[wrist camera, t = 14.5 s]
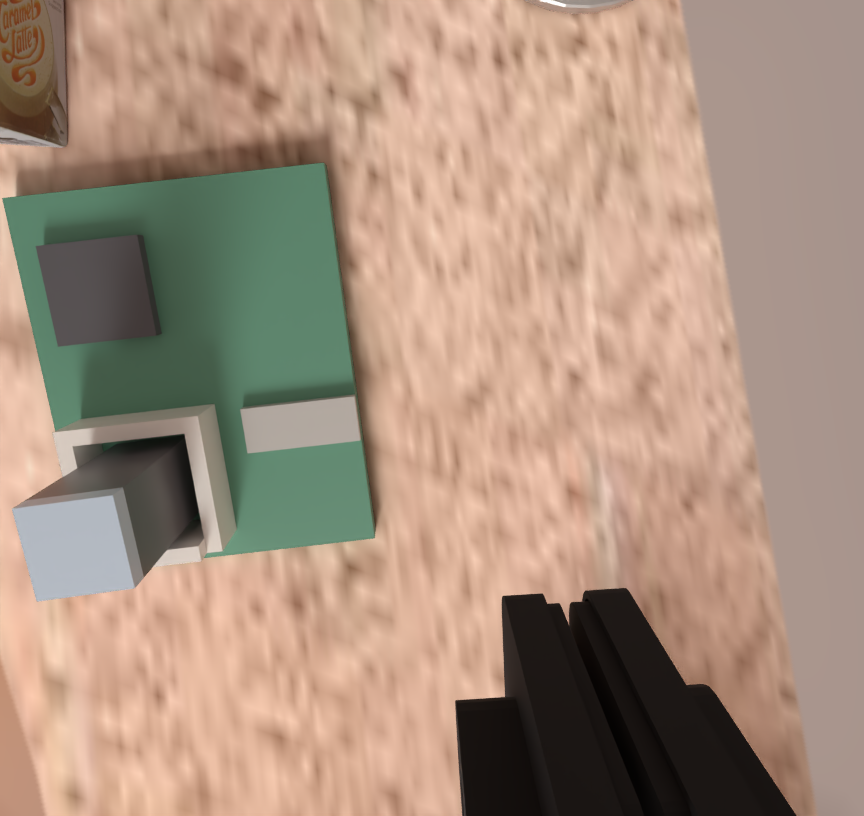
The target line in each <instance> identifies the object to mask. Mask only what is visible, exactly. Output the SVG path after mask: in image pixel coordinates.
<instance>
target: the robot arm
mask: <svg viewBox="0 0 864 816" xmlns="http://www.w3.org/2000/svg"><path fill="white" fill-rule="evenodd" d="M525 1H526V2H528V3H531V4H534V5H536V6H539V7H542V8H544V9H547V10H549V11H556V12H562V13H569V14H585V13H598V12H602V11H606V10H610V9H613V8H617V7H621V6H623V5H625V4H627V3H629V2H631V1H633V0H525ZM502 626H503V652H504V678H505V697H501V698H486V699H470V700H456V701H455V704H456V725H457V742H458V759H459V775H460V789H461V803H462V816H796V814H795V813H794V811H793V810H792V808H791V807H790V805H789V804H788V802H787V801H786V799H785V798H784V796H783V795H782V793H781V792H780V790H779V789H778V787H777V786H776V784H775V783H774V781H773V780H772V778H771V777H770V775H769V774H768V772H767V771H766V769H765V768H764V766H763V765H762V763H761V762H760V760H759V759H758V757H757V756H756V754H755V753H754V751H753V750H752V748H751V747H750V745H749V744H748V742H747V741H746V739H745V737H744V736H743V734H742V733H741V731H740V730H739V728H738V727H737V725H736V724H735V722H734V721H733V719H732V718H731V716H730V715H729V713H728V712H727V710H726V709H725V707H724V706H723V704H722V703H721V701H720V700H719V698H718V697H717V695H716V694H715V693H714V692H713V690H712V689H711V688H710V687H709V686H707V685H704V684H697V685H686V684H685V682H684V681H683V679H682V677H681V676H680V674H679V672H678V671H677V669H676V667H675V666H674V664H673V663H672V661H671V659H670V658H669V656H668V654H667V653H666V651H665V649H664V648H663V646H662V645H661V643H660V641H659V640H658V638H657V636H656V635H655V633H654V631H653V630H652V628H651V627H650V625H649V623H648V622H647V620H646V618H645V617H644V615H643V613H642V612H641V610H640V609H639V607H638V605H637V604H636V602H635V600H634V599H633V597H632V595H631V594H630V592H629V591H628V590H627V589H626V588H619V589H604V590H589V591H585V592H584V594H583V601H582V602H571V604H570V608H569V625H568V622H567V620H566V617H565V615H564V612H563V610H562V607H561V605H560V604H559V603H555V604H547V602H546V600H545V597H544V595H543V594H527V595H511V596H503V597H502Z"/></svg>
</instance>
